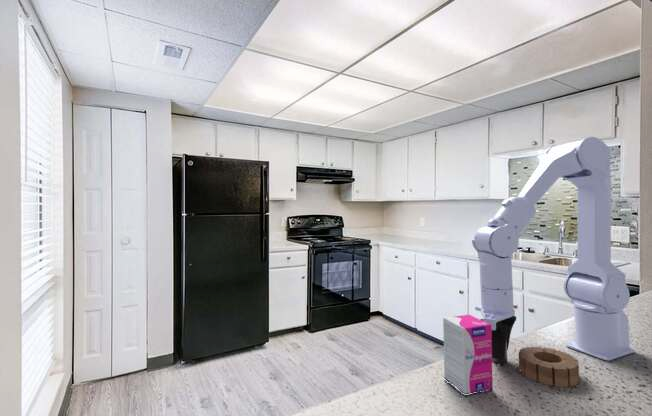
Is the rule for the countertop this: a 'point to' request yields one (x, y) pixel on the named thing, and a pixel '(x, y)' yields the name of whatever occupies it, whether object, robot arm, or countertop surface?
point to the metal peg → (501, 362)
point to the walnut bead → (549, 366)
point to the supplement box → (468, 353)
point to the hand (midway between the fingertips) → (499, 354)
